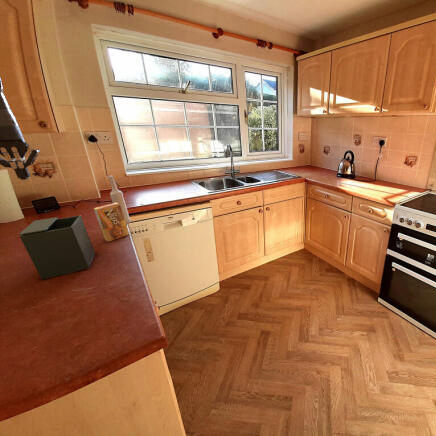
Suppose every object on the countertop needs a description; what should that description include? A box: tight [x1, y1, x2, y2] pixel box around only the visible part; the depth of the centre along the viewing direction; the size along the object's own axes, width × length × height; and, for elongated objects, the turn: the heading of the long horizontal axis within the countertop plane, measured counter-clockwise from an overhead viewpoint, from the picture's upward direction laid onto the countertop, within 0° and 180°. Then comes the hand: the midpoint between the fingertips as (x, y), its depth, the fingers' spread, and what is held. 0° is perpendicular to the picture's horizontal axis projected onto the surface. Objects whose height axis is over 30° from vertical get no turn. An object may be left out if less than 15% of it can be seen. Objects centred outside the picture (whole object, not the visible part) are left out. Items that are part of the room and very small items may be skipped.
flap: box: [18, 216, 59, 236], centre depth 83 cm, size 6×13×1 cm, turn 29°
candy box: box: [93, 202, 130, 243], centre depth 109 cm, size 9×4×15 cm, turn 145°
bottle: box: [107, 175, 132, 225], centre depth 123 cm, size 5×5×25 cm
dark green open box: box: [19, 215, 96, 280], centre depth 88 cm, size 13×13×16 cm
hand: (25, 179), depth 83 cm, fingers closed
